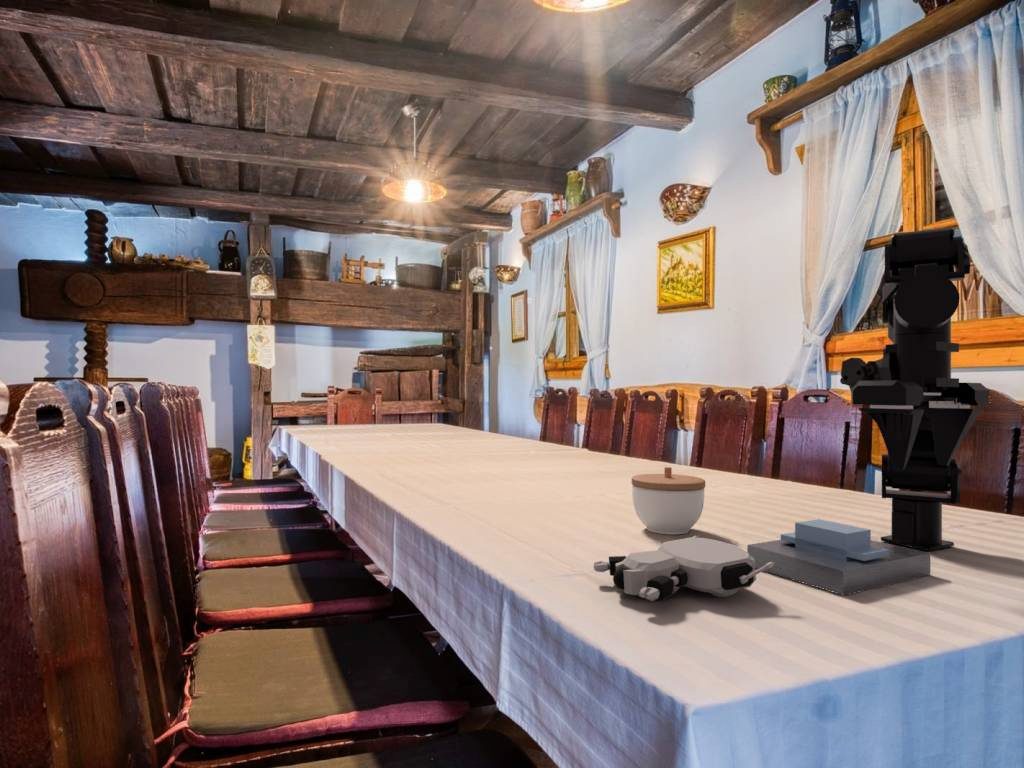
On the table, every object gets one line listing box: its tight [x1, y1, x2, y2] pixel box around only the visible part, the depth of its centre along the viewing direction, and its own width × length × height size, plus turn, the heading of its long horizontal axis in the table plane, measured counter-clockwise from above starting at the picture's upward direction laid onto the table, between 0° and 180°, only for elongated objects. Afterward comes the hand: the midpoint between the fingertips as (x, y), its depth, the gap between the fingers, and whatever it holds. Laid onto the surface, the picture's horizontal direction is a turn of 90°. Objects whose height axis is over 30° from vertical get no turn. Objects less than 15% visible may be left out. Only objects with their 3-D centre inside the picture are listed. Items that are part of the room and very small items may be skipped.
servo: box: [780, 519, 888, 562], centre depth 72 cm, size 6×10×5 cm, turn 28°
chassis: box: [746, 539, 931, 596], centre depth 72 cm, size 16×12×2 cm
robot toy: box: [593, 535, 774, 602], centre depth 64 cm, size 12×4×15 cm
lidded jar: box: [631, 466, 706, 536], centre depth 93 cm, size 11×11×9 cm
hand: (921, 466), depth 73 cm, fingers open, 9 cm apart
